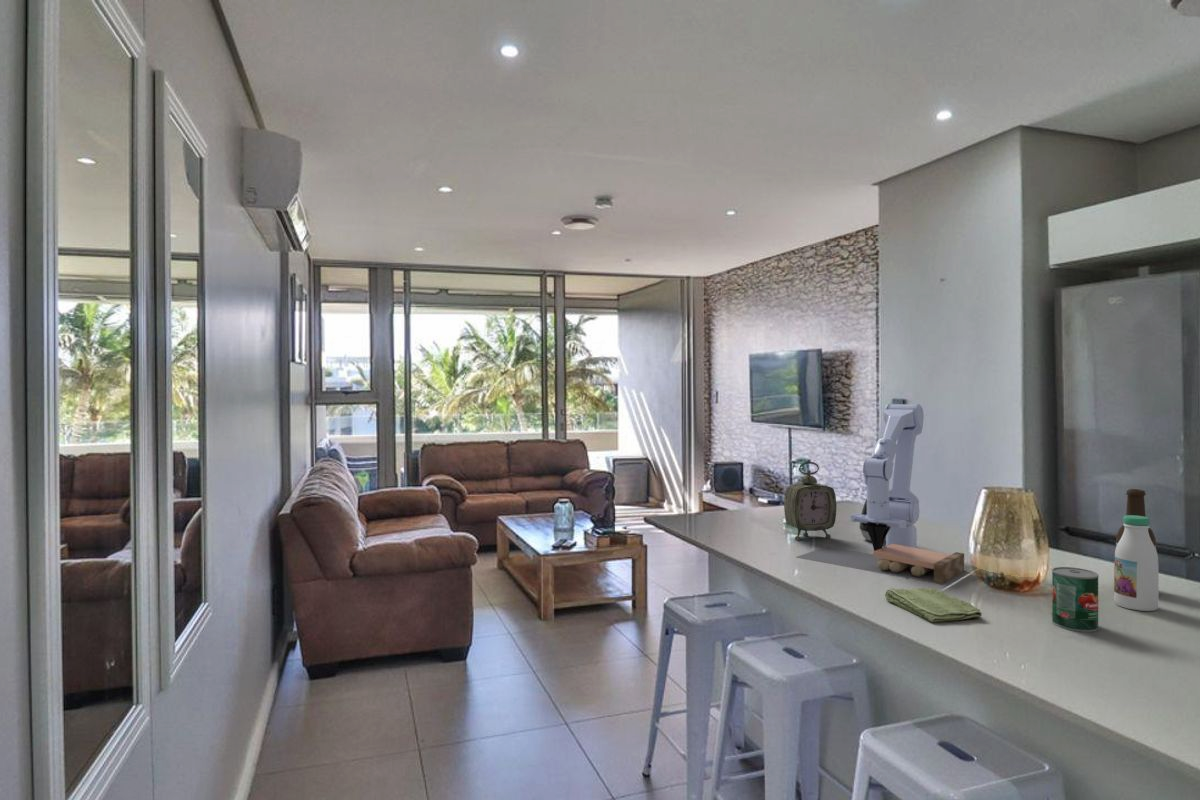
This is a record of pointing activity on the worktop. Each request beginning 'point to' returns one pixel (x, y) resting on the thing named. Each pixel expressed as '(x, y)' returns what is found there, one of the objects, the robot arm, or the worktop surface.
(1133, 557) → the milk bottle
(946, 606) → the washcloth
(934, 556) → the slab
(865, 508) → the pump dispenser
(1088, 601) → the canned tomato
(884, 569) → the roller rear
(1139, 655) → the worktop surface
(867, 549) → the worktop surface
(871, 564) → the mat
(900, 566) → the roller front
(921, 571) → the roller
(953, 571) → the bar
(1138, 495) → the beer bottle
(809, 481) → the tabletop clock
